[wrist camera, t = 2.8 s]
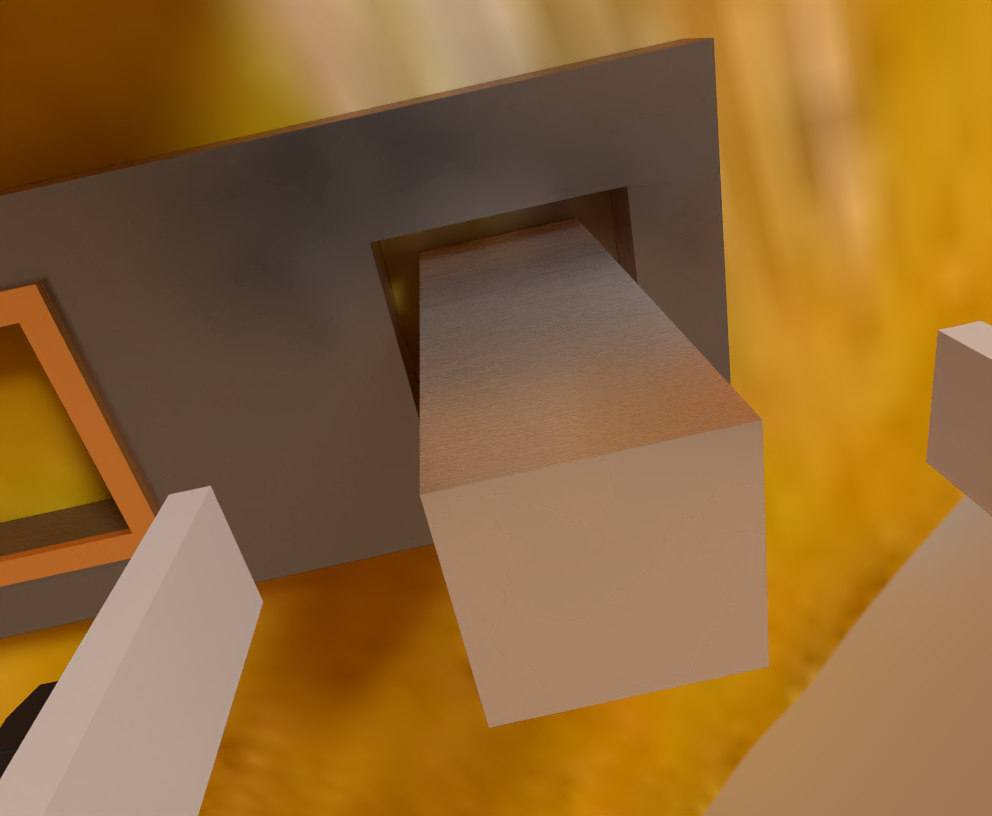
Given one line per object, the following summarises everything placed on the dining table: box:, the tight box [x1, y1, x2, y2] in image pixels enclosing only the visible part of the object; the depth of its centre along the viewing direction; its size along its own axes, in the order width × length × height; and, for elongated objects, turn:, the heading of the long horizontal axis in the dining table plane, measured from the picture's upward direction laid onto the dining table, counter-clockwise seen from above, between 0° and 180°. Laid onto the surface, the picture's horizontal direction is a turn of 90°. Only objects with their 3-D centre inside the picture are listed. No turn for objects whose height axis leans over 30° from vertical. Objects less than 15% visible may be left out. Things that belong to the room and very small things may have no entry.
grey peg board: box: [0, 38, 731, 638], centre depth 20 cm, size 26×12×2 cm, turn 101°
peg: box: [420, 218, 769, 728], centre depth 15 cm, size 4×4×12 cm
